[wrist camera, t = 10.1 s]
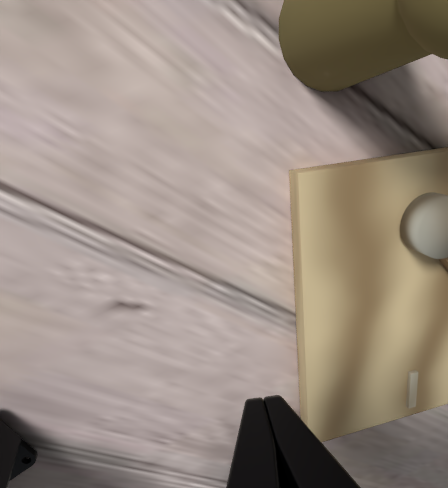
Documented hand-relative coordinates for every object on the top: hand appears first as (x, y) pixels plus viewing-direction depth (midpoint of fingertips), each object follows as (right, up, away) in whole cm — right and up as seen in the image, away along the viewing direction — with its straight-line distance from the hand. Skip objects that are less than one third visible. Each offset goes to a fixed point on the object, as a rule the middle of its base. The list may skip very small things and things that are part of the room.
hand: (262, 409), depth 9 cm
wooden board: (+13, +1, +18) cm, 22 cm away
